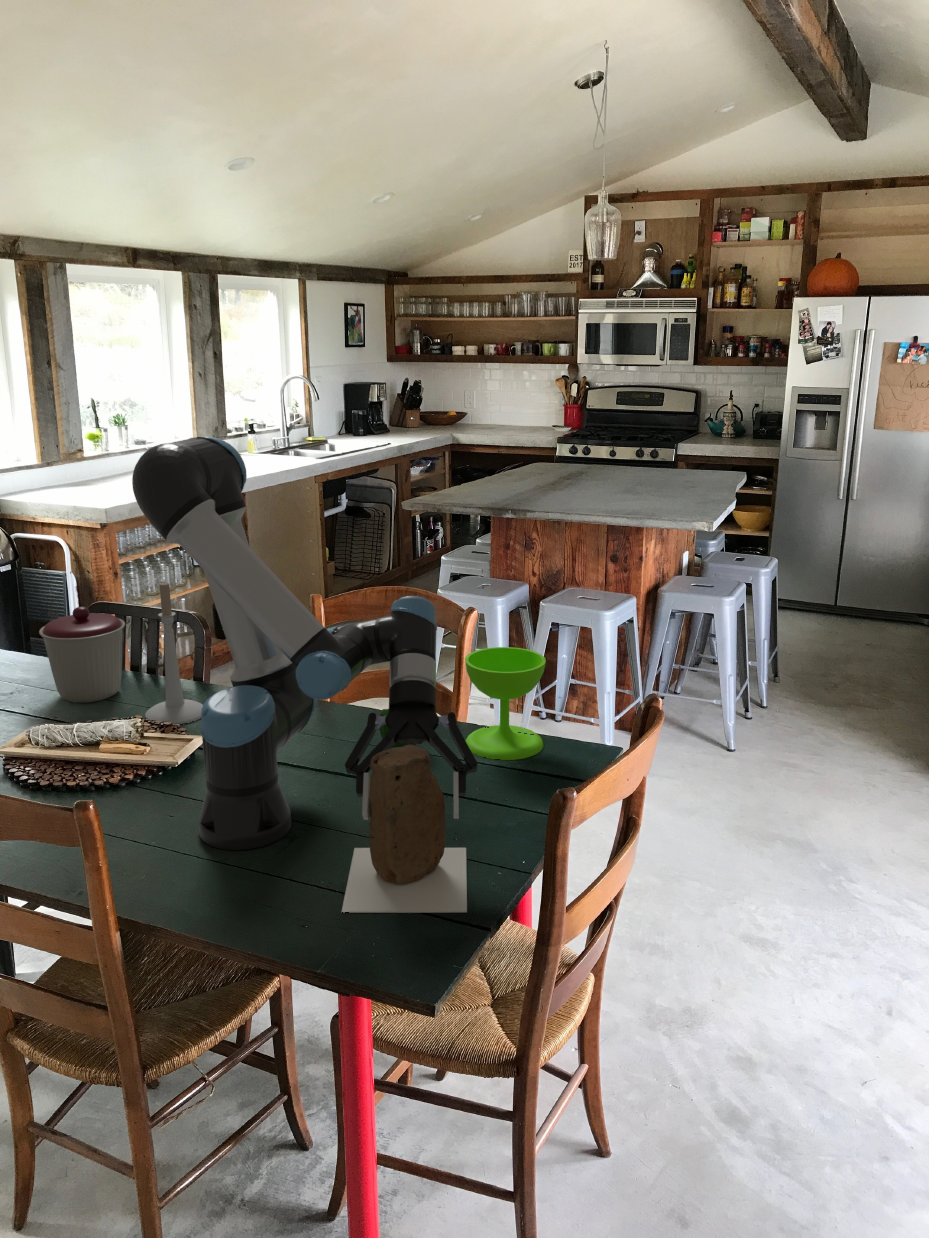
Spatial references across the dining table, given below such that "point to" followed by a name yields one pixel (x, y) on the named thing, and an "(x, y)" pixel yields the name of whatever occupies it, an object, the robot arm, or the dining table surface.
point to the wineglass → (505, 699)
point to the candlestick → (172, 674)
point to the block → (405, 815)
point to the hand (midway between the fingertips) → (410, 816)
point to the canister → (85, 654)
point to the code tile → (407, 887)
